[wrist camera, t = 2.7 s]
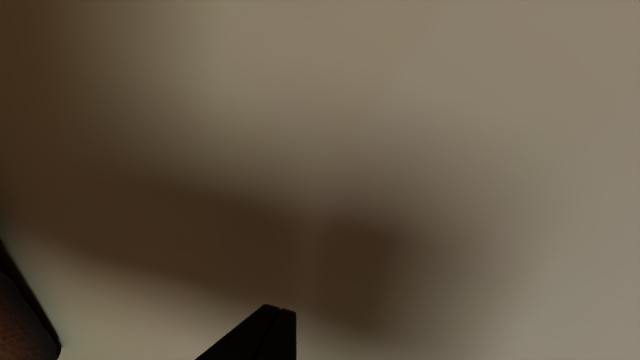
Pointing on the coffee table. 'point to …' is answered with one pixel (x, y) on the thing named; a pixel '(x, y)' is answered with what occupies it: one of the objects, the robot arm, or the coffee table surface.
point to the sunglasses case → (22, 328)
